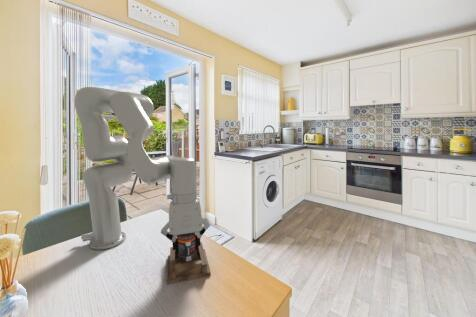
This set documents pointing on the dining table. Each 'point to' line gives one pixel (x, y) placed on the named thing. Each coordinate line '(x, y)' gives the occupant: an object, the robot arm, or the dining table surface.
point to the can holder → (187, 267)
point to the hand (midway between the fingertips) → (186, 249)
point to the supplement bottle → (186, 247)
